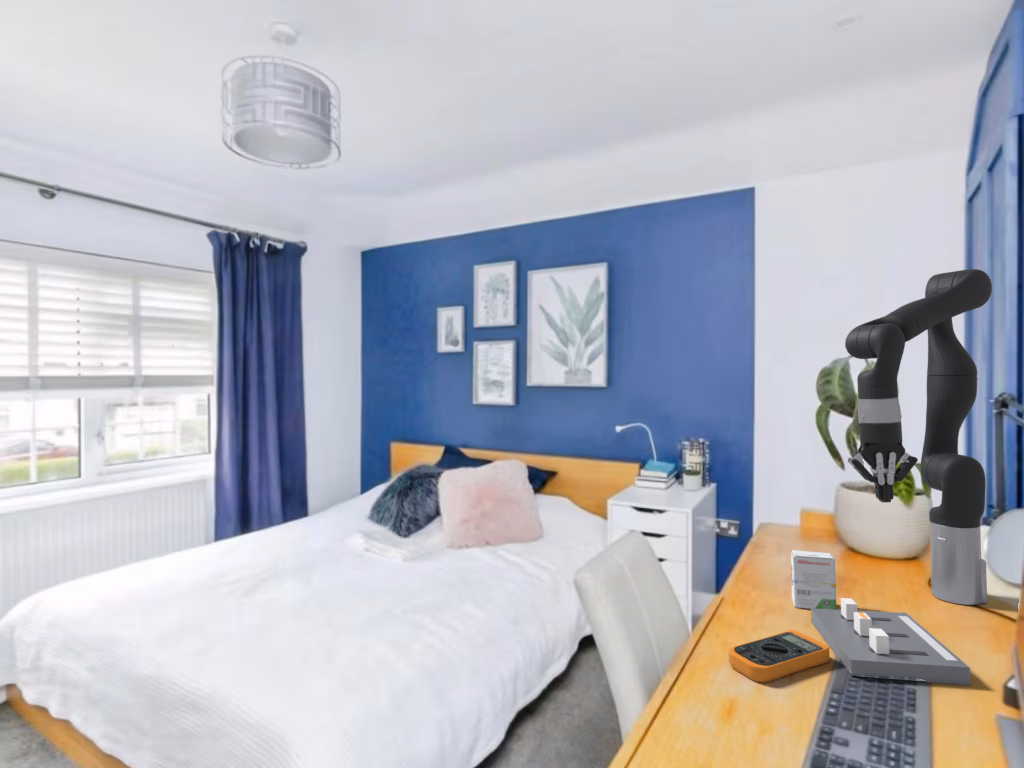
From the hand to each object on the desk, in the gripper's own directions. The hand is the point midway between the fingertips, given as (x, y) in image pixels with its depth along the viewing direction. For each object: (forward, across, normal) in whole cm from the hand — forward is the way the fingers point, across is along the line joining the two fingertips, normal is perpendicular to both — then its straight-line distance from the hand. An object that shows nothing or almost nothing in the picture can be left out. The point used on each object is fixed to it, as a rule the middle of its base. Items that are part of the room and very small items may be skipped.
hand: (884, 501), depth 118 cm
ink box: (+25, +13, -7) cm, 29 cm away
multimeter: (+25, +28, +21) cm, 43 cm away
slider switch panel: (+25, +8, +13) cm, 29 cm away
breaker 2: (+22, +11, +20) cm, 32 cm away
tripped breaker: (+22, +11, +13) cm, 28 cm away
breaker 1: (+22, +10, +6) cm, 25 cm away
